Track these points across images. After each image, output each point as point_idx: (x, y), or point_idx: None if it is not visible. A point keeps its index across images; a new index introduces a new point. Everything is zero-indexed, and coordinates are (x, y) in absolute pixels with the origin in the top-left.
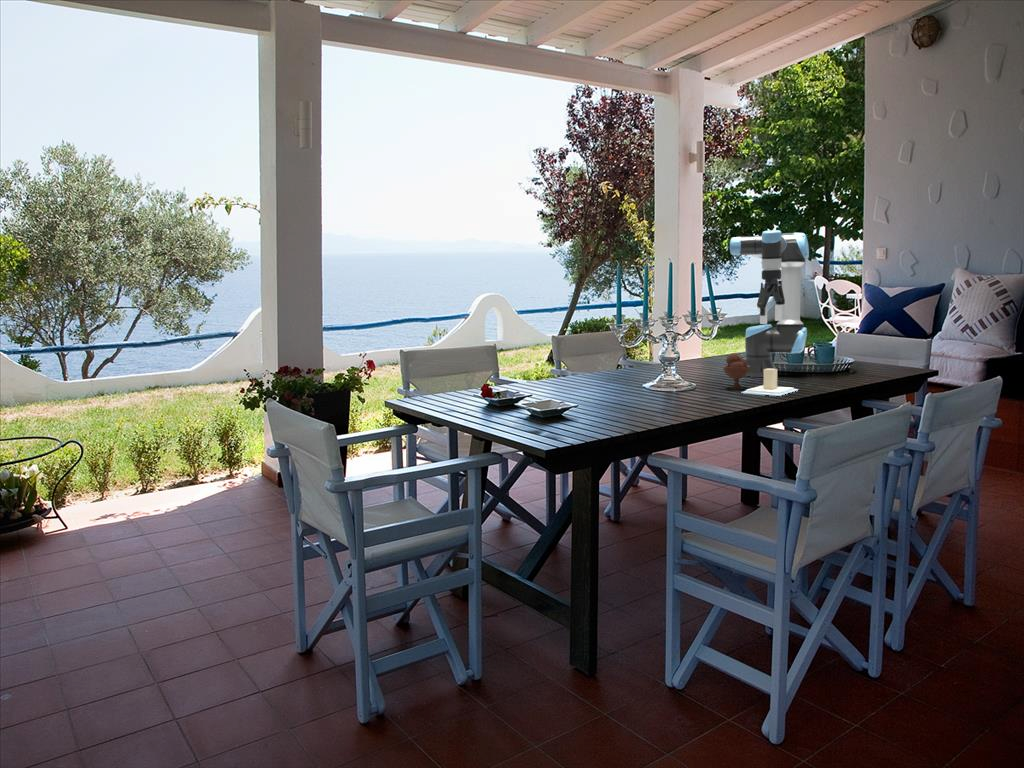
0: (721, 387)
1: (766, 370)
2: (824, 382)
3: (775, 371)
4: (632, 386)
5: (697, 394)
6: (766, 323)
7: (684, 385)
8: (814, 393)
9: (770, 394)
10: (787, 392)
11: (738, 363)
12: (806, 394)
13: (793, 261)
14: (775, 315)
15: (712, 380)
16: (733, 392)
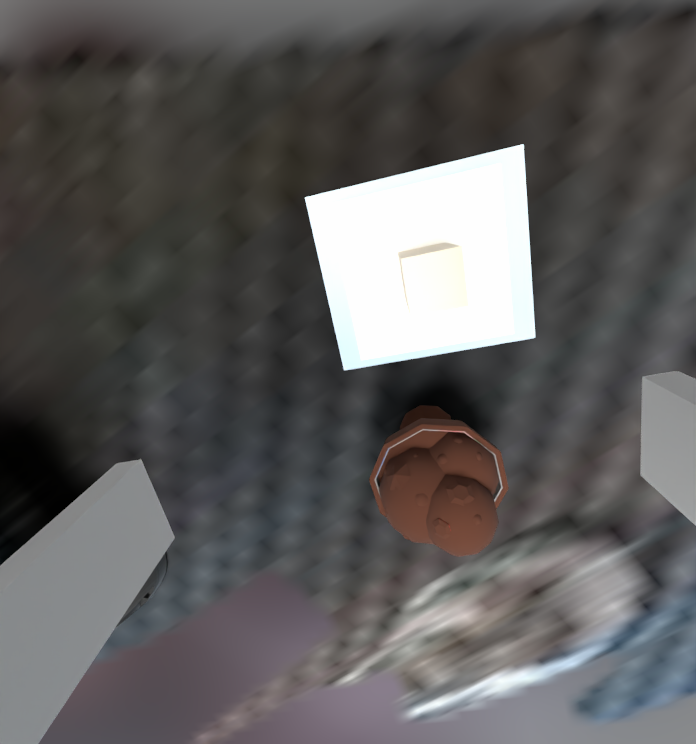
0: None
1: (465, 286)
2: (40, 269)
3: (425, 252)
4: (599, 690)
5: None
6: (674, 375)
7: (476, 595)
8: (322, 81)
9: (526, 192)
10: (423, 171)
11: (481, 463)
12: (374, 91)
13: None
14: (130, 594)
15: (316, 592)
16: (523, 379)
